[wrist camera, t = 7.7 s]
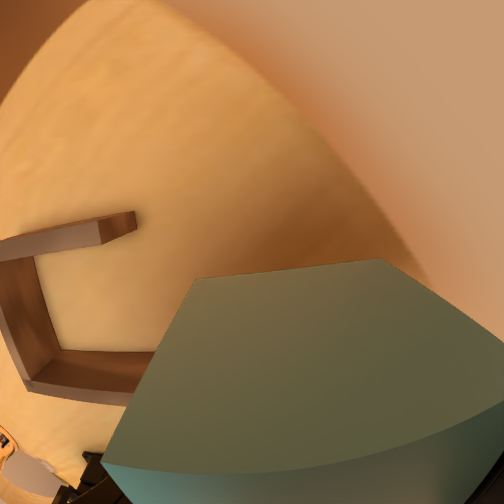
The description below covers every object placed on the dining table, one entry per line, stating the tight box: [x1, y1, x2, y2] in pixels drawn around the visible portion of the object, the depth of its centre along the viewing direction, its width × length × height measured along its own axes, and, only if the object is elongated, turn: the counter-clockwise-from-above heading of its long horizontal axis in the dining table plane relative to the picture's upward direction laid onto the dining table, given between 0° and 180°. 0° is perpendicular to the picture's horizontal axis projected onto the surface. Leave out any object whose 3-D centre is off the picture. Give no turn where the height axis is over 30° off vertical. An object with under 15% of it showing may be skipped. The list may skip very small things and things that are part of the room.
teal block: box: [100, 258, 504, 504], centre depth 7 cm, size 7×6×7 cm
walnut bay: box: [0, 211, 155, 406], centre depth 17 cm, size 11×11×5 cm
